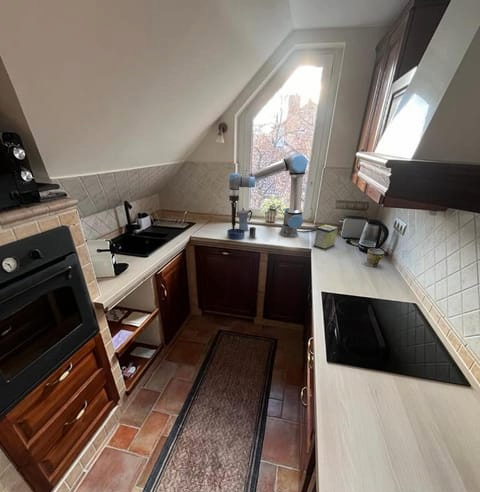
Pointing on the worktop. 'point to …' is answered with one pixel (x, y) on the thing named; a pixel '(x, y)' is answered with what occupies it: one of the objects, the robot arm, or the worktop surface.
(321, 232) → the protein box
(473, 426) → the worktop surface
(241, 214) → the moka pot
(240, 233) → the bowl
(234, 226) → the cooking stick
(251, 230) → the crock
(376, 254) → the ceramic cup
